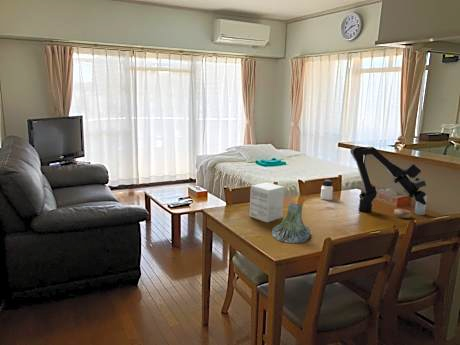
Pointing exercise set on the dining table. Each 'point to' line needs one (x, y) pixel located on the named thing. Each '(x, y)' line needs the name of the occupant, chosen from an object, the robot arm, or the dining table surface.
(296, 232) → the tree stump
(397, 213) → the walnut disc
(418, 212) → the pale blue small block
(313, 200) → the dining table surface
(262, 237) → the dining table surface
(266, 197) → the supplement box
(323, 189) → the medicine bottle
